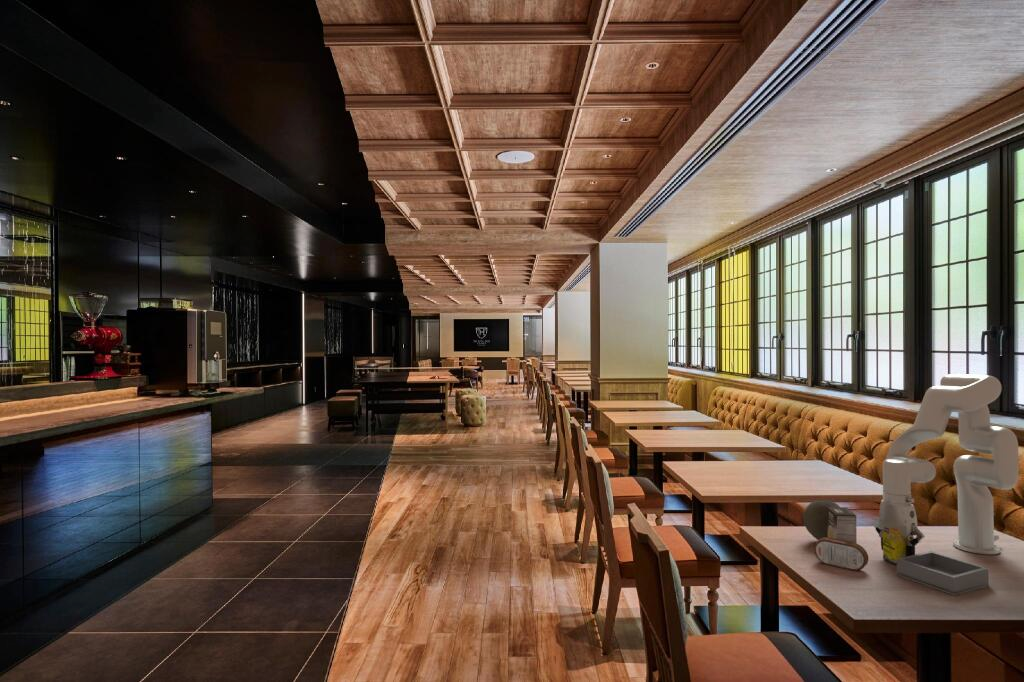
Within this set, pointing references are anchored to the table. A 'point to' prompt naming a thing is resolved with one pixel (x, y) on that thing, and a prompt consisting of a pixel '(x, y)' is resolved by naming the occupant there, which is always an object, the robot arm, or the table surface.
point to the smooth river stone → (817, 518)
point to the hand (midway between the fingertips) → (897, 553)
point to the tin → (841, 553)
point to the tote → (943, 572)
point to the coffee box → (841, 524)
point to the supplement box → (893, 545)
